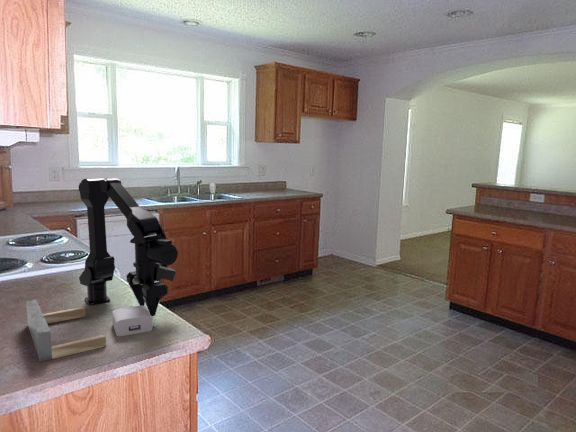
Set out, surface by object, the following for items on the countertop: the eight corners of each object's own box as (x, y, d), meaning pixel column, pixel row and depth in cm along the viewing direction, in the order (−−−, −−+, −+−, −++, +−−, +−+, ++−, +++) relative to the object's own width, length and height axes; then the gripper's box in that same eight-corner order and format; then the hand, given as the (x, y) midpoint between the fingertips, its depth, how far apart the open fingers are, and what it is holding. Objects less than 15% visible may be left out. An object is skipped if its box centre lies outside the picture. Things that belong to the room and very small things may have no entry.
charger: (142, 313, 130) (152, 331, 117) (110, 318, 126) (116, 337, 113) (142, 298, 129) (152, 315, 116) (109, 302, 125) (115, 320, 112)
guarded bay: (27, 325, 118) (26, 301, 117) (84, 314, 127) (83, 292, 126) (39, 361, 99) (37, 333, 97) (106, 346, 107) (104, 319, 106)
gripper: (185, 262, 120) (186, 315, 123) (161, 249, 135) (162, 297, 138) (146, 268, 114) (148, 324, 116) (125, 254, 129) (127, 304, 131)
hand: (147, 311), depth 125 cm, fingers open, 9 cm apart
